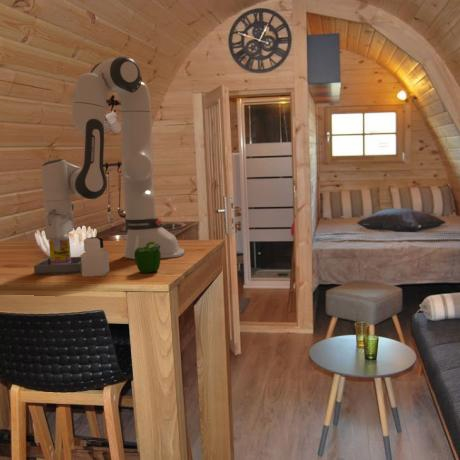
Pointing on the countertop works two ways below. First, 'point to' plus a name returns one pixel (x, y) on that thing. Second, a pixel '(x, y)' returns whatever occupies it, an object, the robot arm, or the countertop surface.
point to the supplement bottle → (61, 251)
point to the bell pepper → (148, 258)
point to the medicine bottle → (94, 258)
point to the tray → (58, 267)
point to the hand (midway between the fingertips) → (61, 248)
